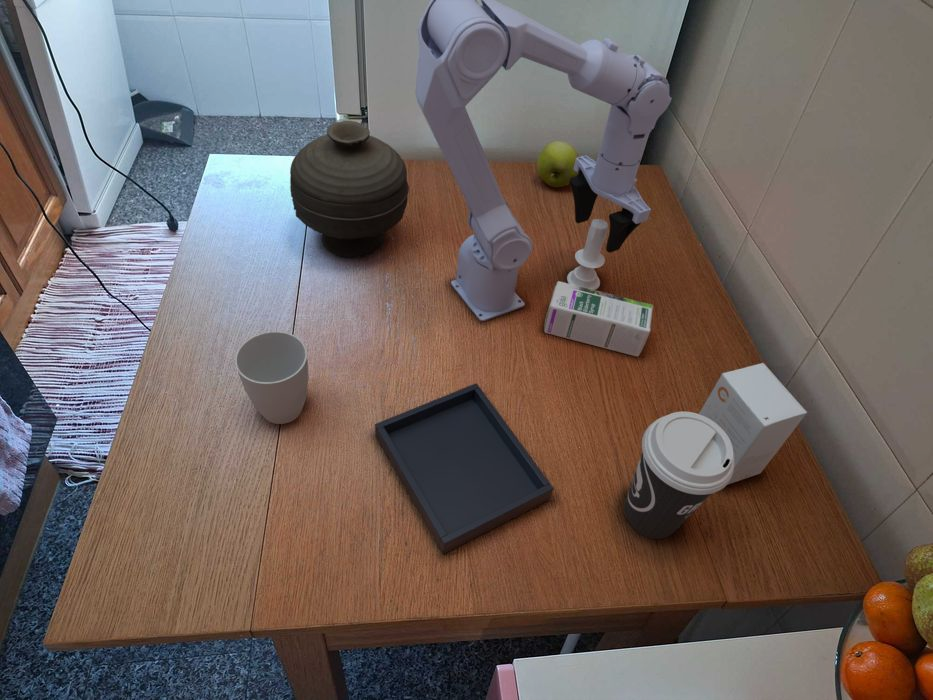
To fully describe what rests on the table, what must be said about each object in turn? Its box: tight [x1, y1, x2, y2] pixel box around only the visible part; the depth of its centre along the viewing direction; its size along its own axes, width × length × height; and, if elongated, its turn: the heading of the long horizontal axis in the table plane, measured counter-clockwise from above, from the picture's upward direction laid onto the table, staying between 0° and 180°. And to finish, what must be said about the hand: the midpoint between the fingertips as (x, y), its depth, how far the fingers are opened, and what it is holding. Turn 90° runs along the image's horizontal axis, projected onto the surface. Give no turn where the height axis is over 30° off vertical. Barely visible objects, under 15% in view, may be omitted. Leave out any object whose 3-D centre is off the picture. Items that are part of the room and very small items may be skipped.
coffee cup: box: [623, 411, 734, 540], centre depth 71 cm, size 10×10×15 cm
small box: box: [698, 362, 808, 486], centre depth 79 cm, size 8×6×13 cm
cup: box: [234, 330, 309, 425], centre depth 79 cm, size 8×8×10 cm
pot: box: [289, 120, 410, 260], centre depth 99 cm, size 18×18×20 cm
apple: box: [536, 140, 579, 188], centre depth 120 cm, size 8×9×8 cm
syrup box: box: [543, 280, 654, 357], centre depth 94 cm, size 6×6×14 cm
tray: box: [374, 382, 554, 555], centre depth 78 cm, size 18×15×3 cm
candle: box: [566, 218, 609, 291], centre depth 100 cm, size 5×5×12 cm
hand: (596, 235), depth 97 cm, fingers open, 7 cm apart
